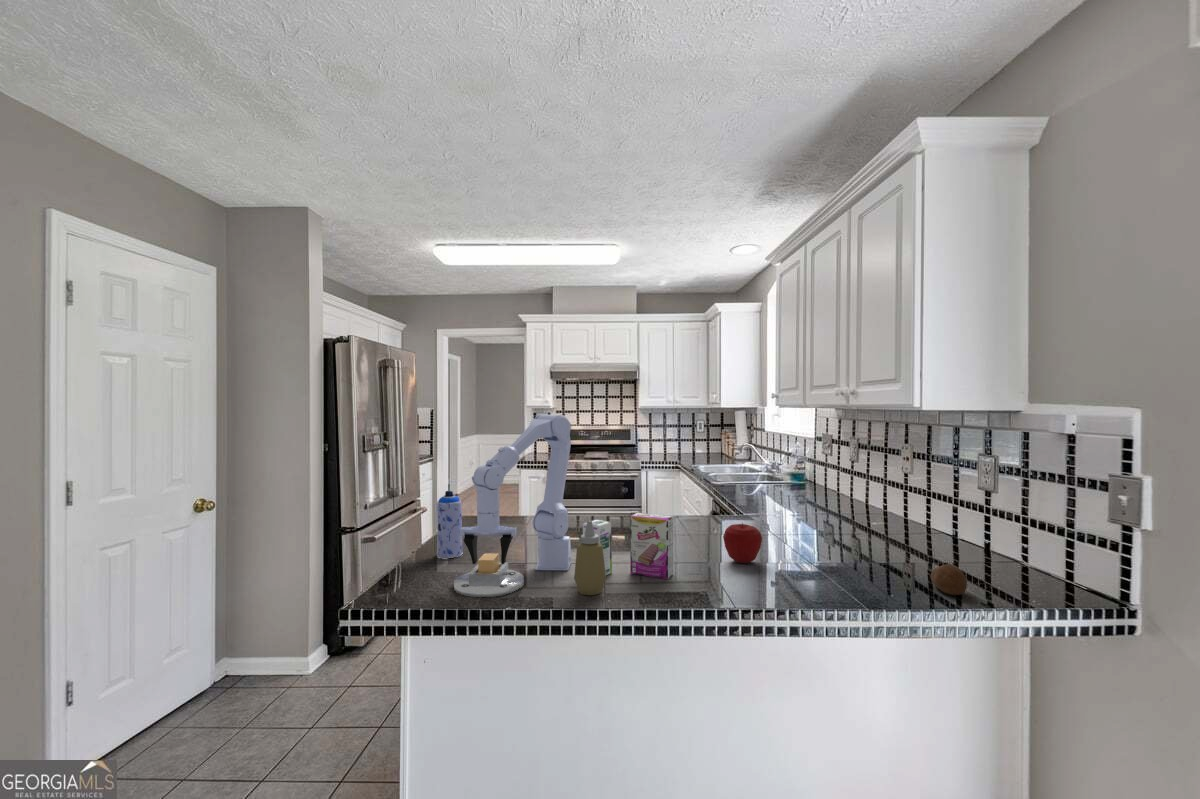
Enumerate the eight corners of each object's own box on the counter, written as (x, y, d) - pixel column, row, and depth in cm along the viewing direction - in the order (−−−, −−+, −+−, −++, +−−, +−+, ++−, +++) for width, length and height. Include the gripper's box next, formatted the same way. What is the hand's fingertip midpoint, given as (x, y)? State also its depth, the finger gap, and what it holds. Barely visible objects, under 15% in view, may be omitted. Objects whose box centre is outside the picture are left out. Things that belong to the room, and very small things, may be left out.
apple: (720, 565, 166) (720, 525, 166) (726, 555, 176) (726, 517, 176) (759, 569, 162) (759, 528, 162) (764, 559, 172) (764, 520, 171)
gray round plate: (529, 574, 159) (529, 558, 159) (516, 598, 142) (515, 580, 141) (465, 573, 161) (465, 557, 160) (444, 597, 143) (444, 579, 142)
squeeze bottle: (582, 600, 140) (582, 526, 140) (569, 589, 147) (568, 519, 147) (611, 594, 144) (611, 522, 143) (597, 584, 151) (596, 516, 150)
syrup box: (599, 578, 155) (599, 525, 155) (583, 574, 159) (582, 522, 159) (612, 573, 160) (611, 521, 160) (595, 569, 163) (595, 518, 163)
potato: (948, 584, 149) (948, 557, 149) (977, 599, 139) (977, 570, 138) (922, 585, 149) (922, 558, 148) (949, 600, 138) (949, 571, 138)
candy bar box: (629, 574, 159) (629, 515, 158) (636, 569, 163) (635, 512, 163) (668, 580, 154) (668, 519, 153) (674, 574, 158) (673, 515, 158)
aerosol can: (435, 553, 180) (434, 490, 180) (460, 550, 183) (459, 488, 183) (439, 560, 173) (438, 494, 172) (465, 557, 176) (464, 492, 176)
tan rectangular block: (499, 575, 154) (499, 553, 154) (493, 583, 148) (493, 560, 148) (484, 575, 154) (484, 553, 154) (478, 583, 148) (478, 560, 148)
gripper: (456, 514, 147) (457, 567, 147) (512, 515, 146) (513, 567, 147) (464, 508, 154) (465, 559, 154) (517, 509, 153) (518, 559, 154)
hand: (489, 562), depth 151 cm, fingers open, 7 cm apart
